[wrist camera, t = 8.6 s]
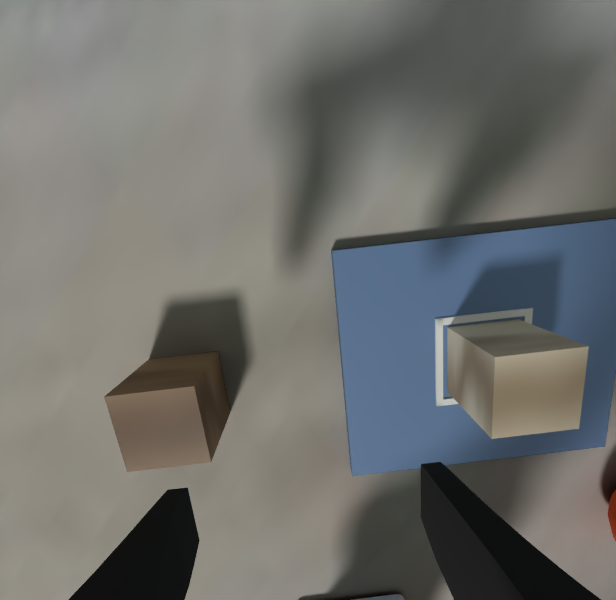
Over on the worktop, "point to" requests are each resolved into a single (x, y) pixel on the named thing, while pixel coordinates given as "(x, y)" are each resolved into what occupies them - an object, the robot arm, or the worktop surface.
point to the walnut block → (170, 411)
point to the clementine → (612, 514)
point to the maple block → (516, 377)
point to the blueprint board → (458, 312)
